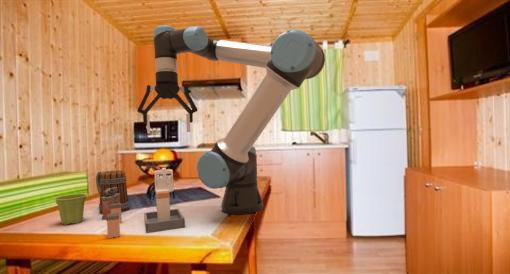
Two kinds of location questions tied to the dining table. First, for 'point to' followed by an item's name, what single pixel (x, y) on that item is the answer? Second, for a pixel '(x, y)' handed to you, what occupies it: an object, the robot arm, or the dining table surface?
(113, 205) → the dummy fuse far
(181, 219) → the tray
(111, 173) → the mug
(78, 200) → the plant pot
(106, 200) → the lighter
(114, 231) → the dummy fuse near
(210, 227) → the dining table surface
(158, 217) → the block
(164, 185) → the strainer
